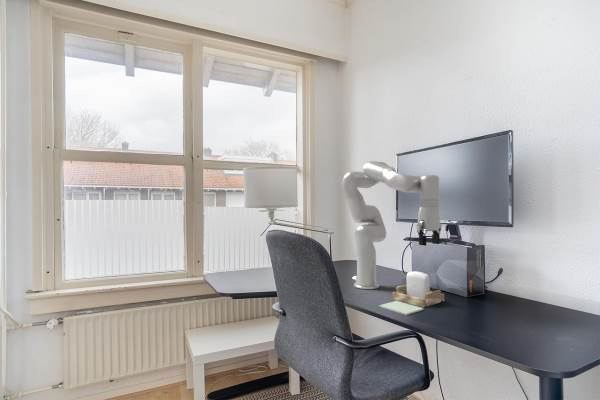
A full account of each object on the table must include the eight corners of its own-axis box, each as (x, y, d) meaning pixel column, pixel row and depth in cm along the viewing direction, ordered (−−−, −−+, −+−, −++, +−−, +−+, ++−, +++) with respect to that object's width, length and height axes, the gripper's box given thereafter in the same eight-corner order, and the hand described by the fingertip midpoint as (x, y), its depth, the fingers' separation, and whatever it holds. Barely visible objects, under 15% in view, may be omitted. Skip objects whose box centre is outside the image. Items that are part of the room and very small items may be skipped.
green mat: (379, 306, 137) (379, 305, 137) (396, 302, 143) (396, 300, 143) (406, 315, 126) (406, 313, 126) (423, 309, 133) (423, 308, 133)
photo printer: (405, 298, 149) (404, 270, 149) (410, 296, 152) (410, 269, 152) (426, 303, 141) (426, 274, 141) (431, 301, 144) (431, 273, 144)
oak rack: (392, 298, 148) (392, 287, 148) (413, 293, 157) (413, 282, 157) (423, 307, 136) (423, 295, 136) (444, 301, 145) (444, 289, 145)
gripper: (432, 204, 151) (432, 242, 151) (409, 204, 140) (409, 244, 140) (448, 204, 145) (448, 244, 145) (425, 204, 134) (425, 246, 134)
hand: (429, 244), depth 142 cm, fingers open, 9 cm apart
